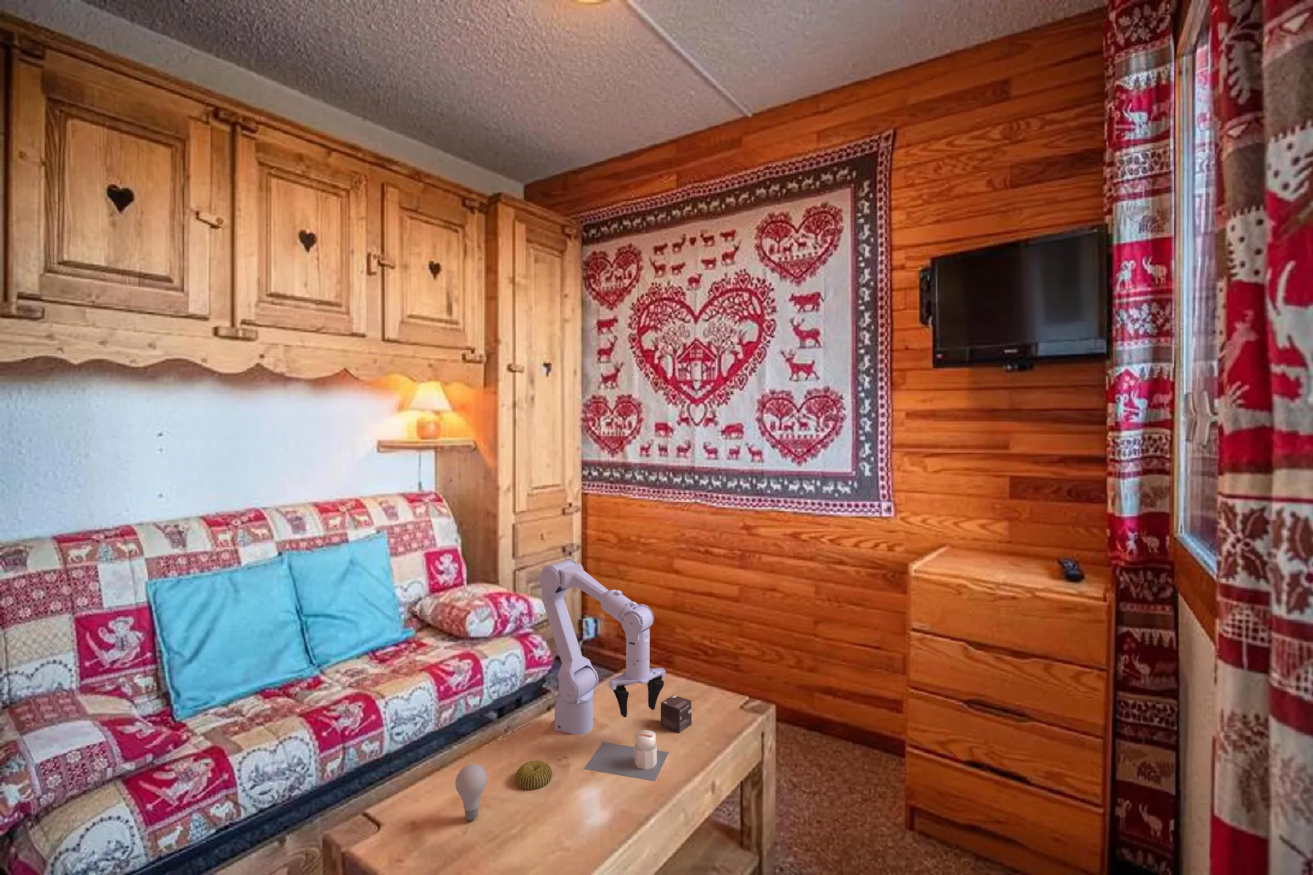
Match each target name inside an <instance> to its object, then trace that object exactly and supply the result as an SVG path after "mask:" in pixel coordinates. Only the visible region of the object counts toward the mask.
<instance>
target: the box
mask: <svg viewBox="0 0 1313 875" xmlns="http://www.w3.org/2000/svg"><path fill="white" fill-rule="evenodd" d="M692 716H693V715H692V700H691V699H688V698H685V697H682V696H678V695H675V694H673V695H671V696H670V697H667V698H666V699H664V700H663V701H661V702H660V727H661V728H664V729H666V730H668V731H671V732H674V733H677V734H681V733H682V732H683V731H684V730H686V729H688V727H690V726H693V725H692V724H693V723H692V721H693V720H692Z"/></svg>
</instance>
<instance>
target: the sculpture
mask: <svg viewBox="0 0 1313 875" xmlns="http://www.w3.org/2000/svg"><path fill="white" fill-rule="evenodd" d="M552 776H553V771H552V768H551V766H550V765H549V763H547V762H545V761H543V760H530V761H527V762H525V763H523V764H521V766H519V768H518V769H517V771H516V773H515V779H514V780H515V784H516V785H517V787H518V788H520V789H522V790H525V791H527V790H528V791H533V790H534V791H535V790H539V789H542V788H544V787H546V786H547V785H548V784H550V782H551V781H552Z"/></svg>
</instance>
